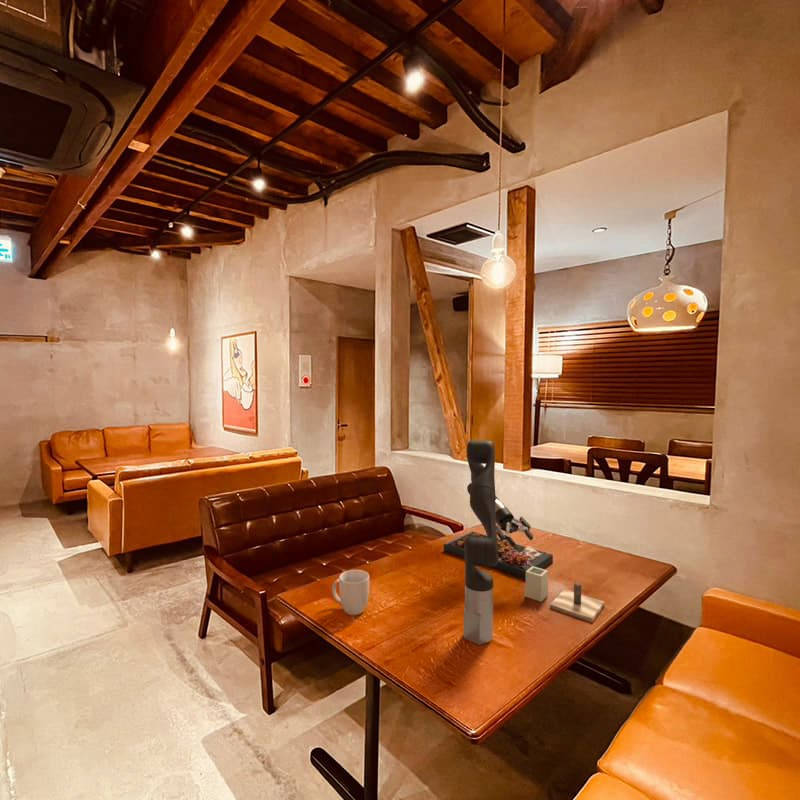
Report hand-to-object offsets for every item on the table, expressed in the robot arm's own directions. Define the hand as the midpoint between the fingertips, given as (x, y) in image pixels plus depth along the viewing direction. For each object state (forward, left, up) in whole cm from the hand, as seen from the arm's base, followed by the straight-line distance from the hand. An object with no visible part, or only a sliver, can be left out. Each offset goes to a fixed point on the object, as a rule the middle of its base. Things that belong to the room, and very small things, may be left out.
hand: (523, 542), depth 173 cm
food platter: (+25, +25, -21) cm, 41 cm away
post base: (+3, -20, -20) cm, 29 cm away
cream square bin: (+1, -5, -20) cm, 21 cm away
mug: (-53, +43, -21) cm, 71 cm away
